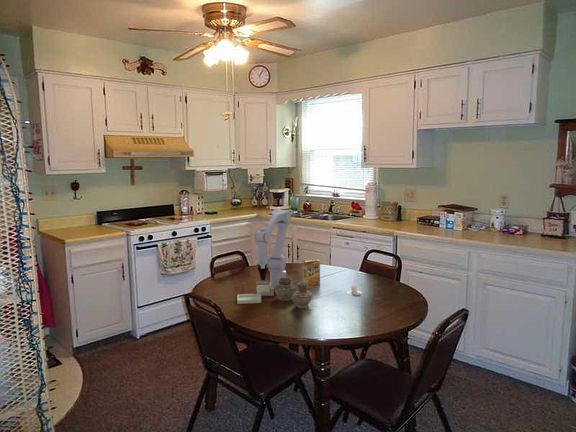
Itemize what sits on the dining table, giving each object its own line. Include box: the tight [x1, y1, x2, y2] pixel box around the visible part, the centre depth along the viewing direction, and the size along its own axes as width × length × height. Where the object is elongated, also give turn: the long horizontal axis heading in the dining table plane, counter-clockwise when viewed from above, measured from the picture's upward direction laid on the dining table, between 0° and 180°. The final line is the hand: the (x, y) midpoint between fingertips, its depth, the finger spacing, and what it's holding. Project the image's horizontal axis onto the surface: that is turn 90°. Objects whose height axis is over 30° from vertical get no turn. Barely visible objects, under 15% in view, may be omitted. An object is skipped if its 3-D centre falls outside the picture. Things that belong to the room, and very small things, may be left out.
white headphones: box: [346, 285, 362, 296], centre depth 231 cm, size 9×8×4 cm
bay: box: [256, 285, 275, 297], centre depth 231 cm, size 9×7×4 cm
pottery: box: [274, 277, 313, 309], centre depth 217 cm, size 11×25×12 cm, turn 39°
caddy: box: [255, 280, 270, 294], centre depth 231 cm, size 8×4×7 cm, turn 95°
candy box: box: [302, 258, 321, 289], centre depth 242 cm, size 9×4×15 cm, turn 113°
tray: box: [236, 293, 262, 305], centre depth 222 cm, size 12×9×2 cm
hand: (262, 278), depth 230 cm, fingers open, 7 cm apart
